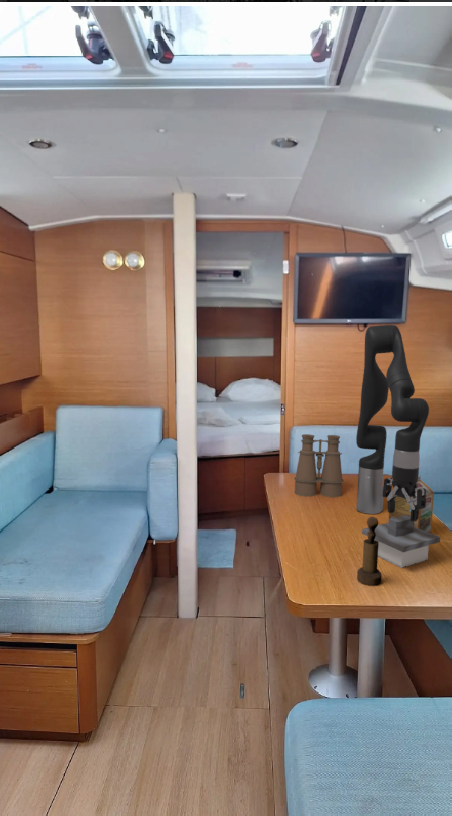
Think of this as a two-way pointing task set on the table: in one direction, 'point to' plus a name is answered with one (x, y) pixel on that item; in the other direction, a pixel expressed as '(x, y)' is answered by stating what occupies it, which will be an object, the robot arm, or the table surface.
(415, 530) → the lid
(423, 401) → the robot arm
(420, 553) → the white storage bin
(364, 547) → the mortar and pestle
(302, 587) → the table surface
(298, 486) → the binoculars
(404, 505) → the milk carton
